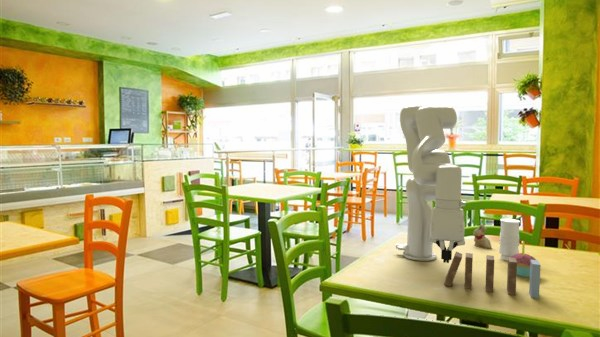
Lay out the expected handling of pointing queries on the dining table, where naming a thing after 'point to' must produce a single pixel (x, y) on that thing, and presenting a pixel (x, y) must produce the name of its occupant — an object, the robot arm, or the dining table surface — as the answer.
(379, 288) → the dining table surface
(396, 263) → the dining table surface
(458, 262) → the domino
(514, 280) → the domino
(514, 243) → the candle
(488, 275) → the domino
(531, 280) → the domino
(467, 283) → the domino
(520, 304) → the dining table surface
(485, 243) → the chocolate bunny
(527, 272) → the cupcake
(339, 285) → the dining table surface
